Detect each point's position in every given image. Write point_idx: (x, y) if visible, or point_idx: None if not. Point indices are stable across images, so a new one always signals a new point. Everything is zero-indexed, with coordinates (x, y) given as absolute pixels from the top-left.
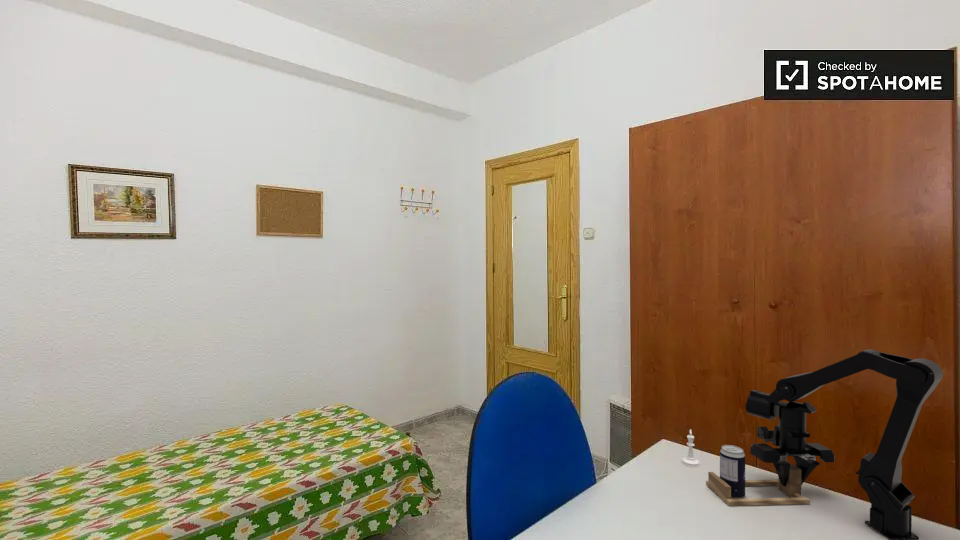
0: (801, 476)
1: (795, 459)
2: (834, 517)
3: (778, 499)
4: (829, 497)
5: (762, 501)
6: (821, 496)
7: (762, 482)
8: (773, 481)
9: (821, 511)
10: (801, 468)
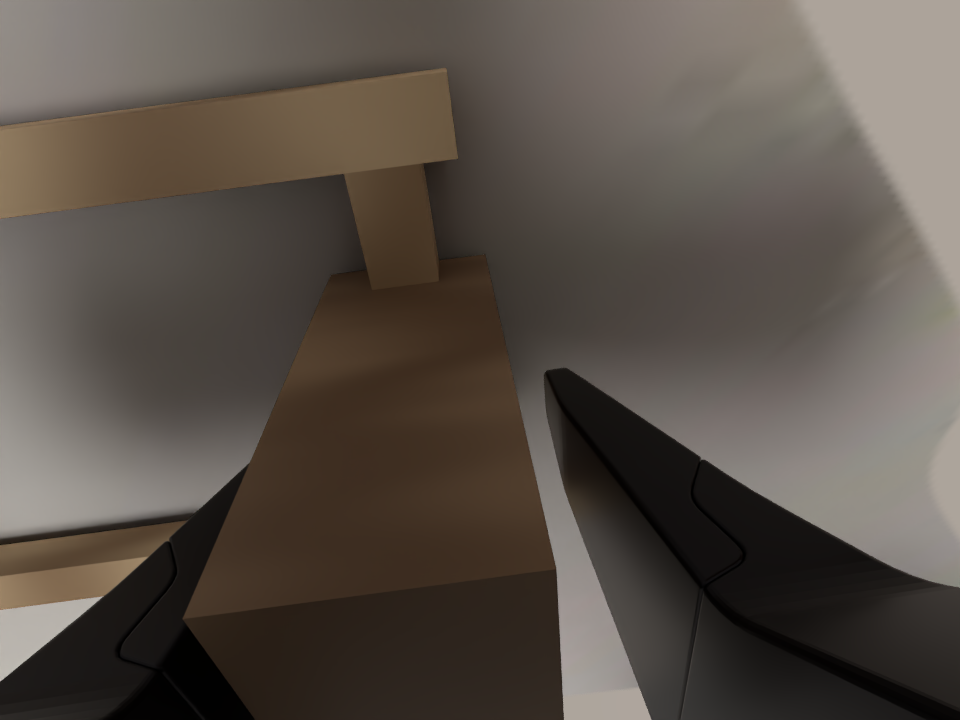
0: (593, 549)
1: (791, 675)
2: (561, 613)
3: None
4: (810, 368)
5: (33, 600)
6: (745, 358)
7: (104, 203)
8: (297, 166)
9: None
10: (664, 662)
